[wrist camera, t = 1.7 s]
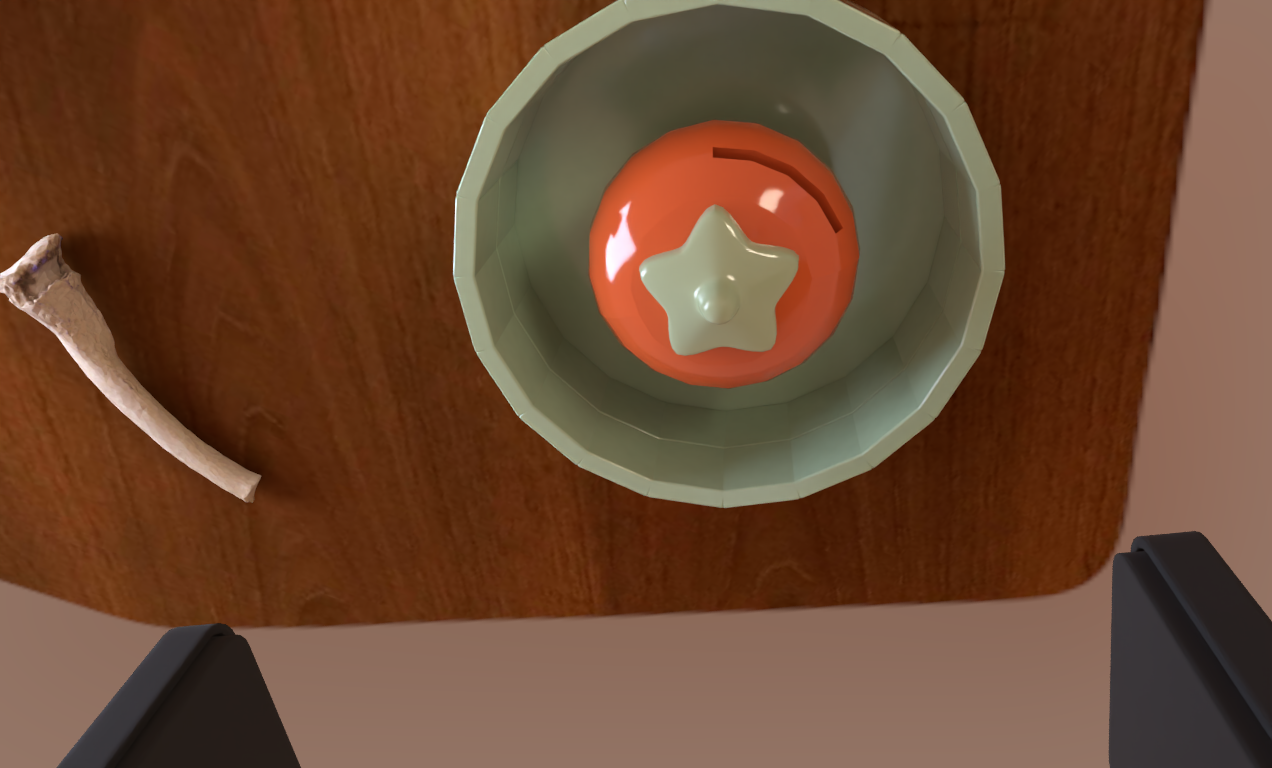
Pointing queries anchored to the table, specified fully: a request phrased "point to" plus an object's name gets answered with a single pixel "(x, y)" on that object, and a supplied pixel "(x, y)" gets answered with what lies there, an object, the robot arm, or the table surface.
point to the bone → (109, 359)
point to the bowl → (791, 104)
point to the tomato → (723, 254)
